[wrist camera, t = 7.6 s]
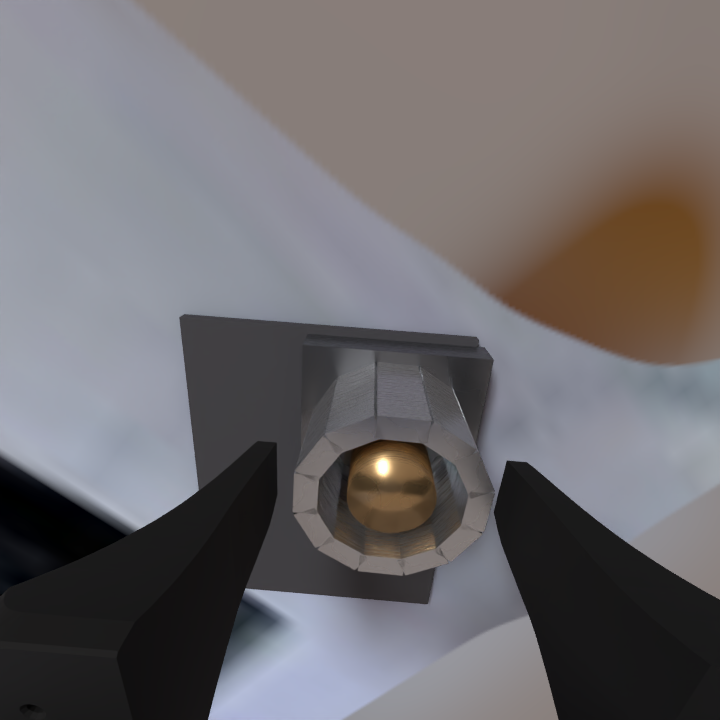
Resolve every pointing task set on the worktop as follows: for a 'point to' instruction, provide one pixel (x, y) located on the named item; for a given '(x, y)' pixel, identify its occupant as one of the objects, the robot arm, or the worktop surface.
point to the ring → (399, 423)
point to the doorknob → (388, 457)
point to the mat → (277, 440)
